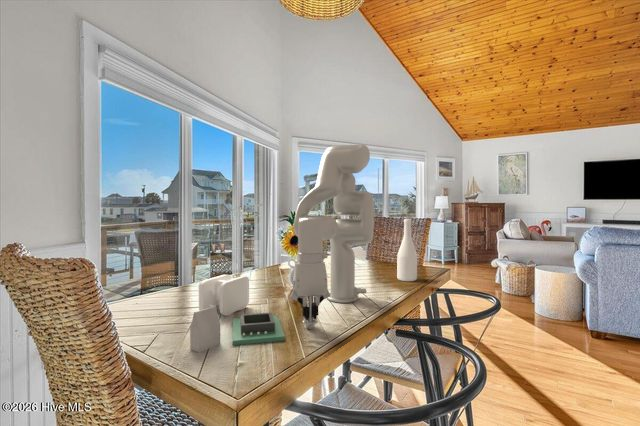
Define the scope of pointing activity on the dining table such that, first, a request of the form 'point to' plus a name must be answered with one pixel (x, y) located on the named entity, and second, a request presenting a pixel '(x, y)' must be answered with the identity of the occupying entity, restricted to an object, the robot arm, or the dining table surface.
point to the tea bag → (205, 329)
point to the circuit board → (257, 329)
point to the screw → (310, 315)
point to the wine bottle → (407, 256)
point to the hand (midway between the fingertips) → (310, 317)
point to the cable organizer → (224, 293)
